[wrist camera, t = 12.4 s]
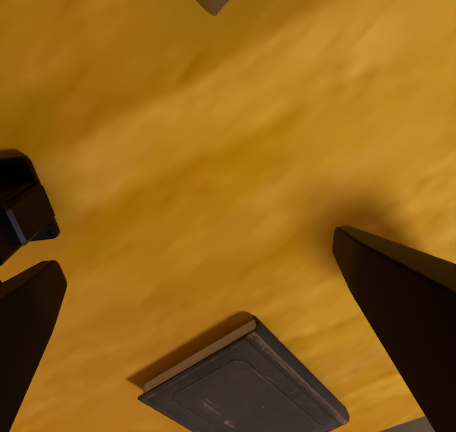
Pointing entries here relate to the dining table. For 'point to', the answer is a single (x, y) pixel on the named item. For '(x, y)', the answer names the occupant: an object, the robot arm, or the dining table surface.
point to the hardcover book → (245, 388)
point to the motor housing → (212, 5)
